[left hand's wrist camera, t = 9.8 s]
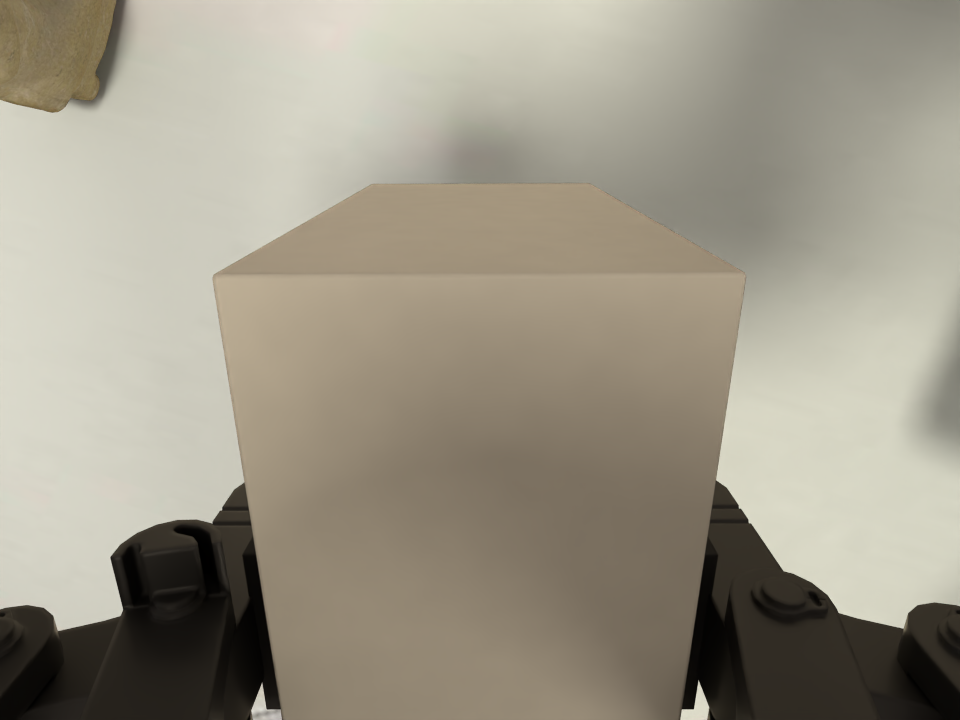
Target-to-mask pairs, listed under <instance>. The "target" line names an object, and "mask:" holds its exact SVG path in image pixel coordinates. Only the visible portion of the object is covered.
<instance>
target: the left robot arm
mask: <svg viewBox="0 0 960 720" xmlns="http://www.w3.org/2000/svg"><path fill="white" fill-rule="evenodd" d="M110 558H111V562H112V566H113V570H114V574H115V578H116V582H117V586H118V590H119V594H120V598H121V602H122V606H123V612H122V614H121V616H120V617H116V618H113V619H109V620H106V621H102V622H97V623H93V624H88V625H84V626H80V627H75V628H71V629H66V630H62V631H57V627H56V624H55V621H54V617H53V615H51V614H50V613H49V612H48V611H47V610H46V609H44V608H41V607H35V606H29V605H25V606H17V607H9V608H4V609H1V610H0V720H253V719H252V713H251V709H252V707H253V704H254V702H255V699H256V697H257V694H258V692H259V689H260V686H261V684H262V683H263V689H264V695H265V702H266V708H267V709H281V708H280V702H279V696H278V689H277V683H276V677H275V670H274V664H273V658H272V651H271V645H270V639H269V632H268V626H267V620H266V614H265V607H264V601H263V595H262V588H261V582H260V576H259V569H258V563H257V557H256V550H255V544H254V538H253V531H252V525H251V519H250V512H249V506H248V500H247V493H246V487H245V483H243V484H242V485H240V486H239V487H238V488H236V489H235V490H234V491H233V492H232V494H231V495H230V497H229V498H228V500H227V501H226V503H225V504H224V506H223V507H222V511H220V512H219V513H218V515H217V516H216V518H215V519H214V521H213V524H212V523H208V522H204V521H200V520H176V521H171V522H167V523H163V524H158V525H155V526H153V527H150V528H148V529H146V530H143V531H141V532H139V533H136V534H135V535H134V536H132V537H131V538H129V539H128V540H126V541H125V542H124V543H122V544H121V545H120V546H119V547H118V548H117V550H116V551H115V552H114V553H113V555H112V556H111V557H110ZM698 680H699V682H700V685H701V687H702V690H703V692H704V695H705V697H706V700H707V702H708V705H709V713H708V719H707V720H960V606H957V605H949V604H941V603H929V604H923V605H918V606H916V607H915V608H914V609H913V610H912V611H910V612H909V613H908V616H907V619H906V623H905V626H904V629H902V628H897V627H893V626H888V625H884V624H879V623H875V622H870V621H866V620H861V619H857V618H854V617H850V616H847V615H843V614H840V613H838V611H837V609H836V607H835V606H834V604H833V603H832V601H831V600H830V598H829V597H828V595H827V594H825V593H824V592H823V591H821V590H820V589H819V588H818V587H816V586H815V585H814V584H813V583H811V582H809V581H807V580H805V579H803V578H801V577H799V576H797V575H794V574H792V573H788V572H784V571H783V570H782V568H781V567H780V565H779V564H778V563H777V561H776V560H775V558H774V557H773V555H772V554H771V552H770V551H769V549H768V548H767V546H766V545H765V543H764V542H763V540H762V539H761V538H760V536H759V535H758V533H757V532H756V530H755V529H754V527H753V526H752V524H749V522H748V518H747V517H746V515H745V514H744V513H743V511H742V510H741V509H739V505H738V504H737V502H736V501H735V499H734V498H733V496H732V495H731V493H730V492H729V491H728V489H727V488H726V487H725V486H723V485H722V484H721V483H719V482H718V481H716V483H715V489H714V496H713V503H712V509H711V516H710V523H709V529H708V536H707V543H706V550H705V556H704V563H703V570H702V576H701V583H700V590H699V597H698V603H697V610H696V617H695V623H694V630H693V637H692V643H691V650H690V657H689V664H688V670H687V677H686V684H685V690H684V697H683V704H682V709H694V705H695V698H696V692H697V686H698Z"/></svg>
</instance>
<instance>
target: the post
mask: <svg viewBox="0 0 960 720" xmlns="http://www.w3.org/2000/svg"><path fill="white" fill-rule="evenodd" d="M745 281H746V275H745V273H744V272H743V271H741V270H739V269H737V268H736V267H734V266H732V265H730V264H729V263H727V262H725V261H723V260H722V259H720V258H718V257H717V256H715V255H713V254H711V253H710V252H708V251H706V250H704V249H703V248H701V247H699V246H697V245H696V244H694V243H692V242H690V241H689V240H687V239H685V238H683V237H682V236H680V235H678V234H677V233H675V232H673V231H671V230H670V229H668V228H666V227H664V226H663V225H661V224H659V223H657V222H656V221H654V220H652V219H650V218H649V217H647V216H645V215H644V214H642V213H640V212H638V211H637V210H635V209H633V208H631V207H630V206H628V205H626V204H624V203H623V202H621V201H619V200H617V199H616V198H614V197H612V196H611V195H609V194H607V193H605V192H604V191H602V190H600V189H598V188H597V187H595V186H593V185H591V184H589V183H506V184H371V185H370V186H368V187H366V188H364V189H363V190H361V191H359V192H357V193H356V194H354V195H352V196H350V197H349V198H347V199H345V200H343V201H342V202H340V203H338V204H336V205H335V206H333V207H331V208H329V209H328V210H326V211H324V212H322V213H321V214H319V215H317V216H315V217H314V218H312V219H310V220H308V221H307V222H305V223H303V224H301V225H300V226H298V227H296V228H294V229H293V230H291V231H289V232H287V233H286V234H284V235H282V236H280V237H279V238H277V239H275V240H273V241H272V242H270V243H268V244H266V245H265V246H263V247H261V248H259V249H258V250H256V251H254V252H252V253H251V254H249V255H247V256H245V257H244V258H242V259H240V260H238V261H237V262H235V263H233V264H231V265H230V266H228V267H226V268H225V269H223V270H221V271H219V272H218V273H216V274H214V276H213V285H214V291H215V298H216V304H217V310H218V317H219V323H220V329H221V336H222V342H223V348H224V354H225V361H226V367H227V373H228V380H229V386H230V392H231V399H232V405H233V411H234V418H235V424H236V430H237V437H238V443H239V449H240V456H241V462H242V468H243V475H244V481H245V487H246V493H247V500H248V506H249V512H250V519H251V525H252V531H253V538H254V544H255V550H256V557H257V563H258V569H259V576H260V582H261V588H262V595H263V601H264V607H265V614H266V620H267V626H268V632H269V639H270V645H271V651H272V658H273V664H274V670H275V677H276V683H277V689H278V696H279V702H280V708H281V715H282V720H680V717H681V710H682V704H683V697H684V690H685V684H686V677H687V670H688V664H689V657H690V650H691V643H692V637H693V630H694V623H695V617H696V610H697V603H698V597H699V590H700V583H701V576H702V570H703V563H704V556H705V550H706V543H707V536H708V529H709V523H710V516H711V509H712V503H713V496H714V489H715V483H716V476H717V469H718V462H719V456H720V449H721V442H722V436H723V429H724V422H725V415H726V409H727V402H728V395H729V389H730V382H731V375H732V369H733V362H734V355H735V348H736V342H737V335H738V328H739V322H740V315H741V308H742V301H743V295H744V288H745Z"/></svg>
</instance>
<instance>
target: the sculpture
mask: <svg viewBox="0 0 960 720" xmlns="http://www.w3.org/2000/svg"><path fill="white" fill-rule="evenodd" d="M115 5H116V0H0V100H3V101H6V102H9V103H13V104H16V105H21V106H26V107H31V108H35V109H40V110H44V111H47V112H52V113H53V112H59V111H61V110H62V109H63V108H64V107H66V105H67V103H68V101H69V99H70V98H74V99H81V100H89V101H90V100H93V99H94V98H95V97H96V96H97V94H98V90H99V85H100V82H99V78H98V76H97V75H96V74H95V72H96V69H97V67H98V65H99V62H100V60H101V58H102V56H103V53H104V51H105V48H106V44H107V40H108V36H109V33H110V29H111V26H112V20H113V13H114V9H115Z"/></svg>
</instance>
